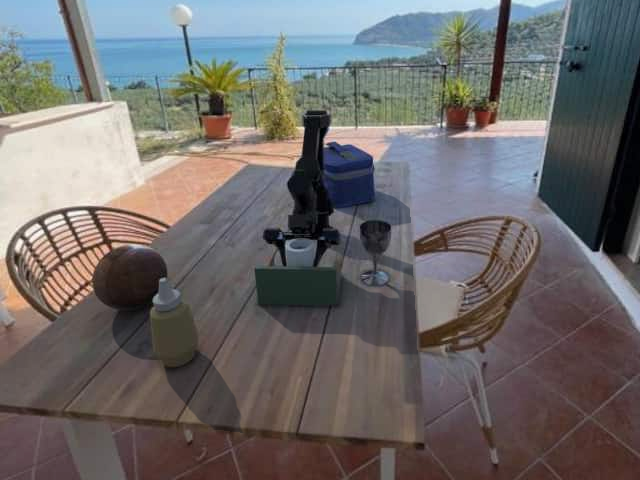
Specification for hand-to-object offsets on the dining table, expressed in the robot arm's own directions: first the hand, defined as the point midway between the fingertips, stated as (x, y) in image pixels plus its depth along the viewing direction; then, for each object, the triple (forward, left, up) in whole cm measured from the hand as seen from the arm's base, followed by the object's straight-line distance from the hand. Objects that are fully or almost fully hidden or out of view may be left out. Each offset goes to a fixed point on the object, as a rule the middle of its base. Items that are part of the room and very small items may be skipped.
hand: (299, 270), depth 94 cm
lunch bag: (-59, -35, -7) cm, 69 cm away
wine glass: (-17, +11, -7) cm, 21 cm away
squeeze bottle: (+29, -4, -7) cm, 30 cm away
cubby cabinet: (-1, -1, -7) cm, 7 cm away
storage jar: (-1, -1, -7) cm, 7 cm away
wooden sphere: (+26, -28, -7) cm, 39 cm away
